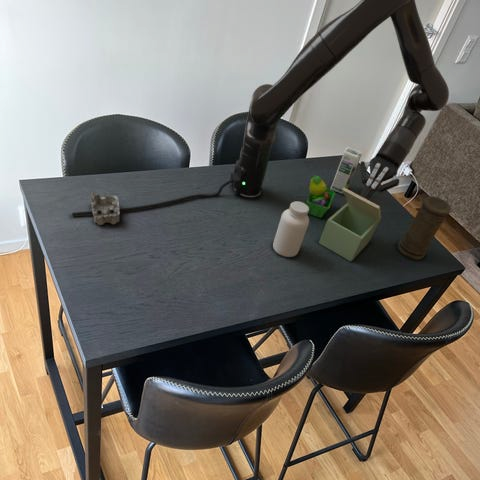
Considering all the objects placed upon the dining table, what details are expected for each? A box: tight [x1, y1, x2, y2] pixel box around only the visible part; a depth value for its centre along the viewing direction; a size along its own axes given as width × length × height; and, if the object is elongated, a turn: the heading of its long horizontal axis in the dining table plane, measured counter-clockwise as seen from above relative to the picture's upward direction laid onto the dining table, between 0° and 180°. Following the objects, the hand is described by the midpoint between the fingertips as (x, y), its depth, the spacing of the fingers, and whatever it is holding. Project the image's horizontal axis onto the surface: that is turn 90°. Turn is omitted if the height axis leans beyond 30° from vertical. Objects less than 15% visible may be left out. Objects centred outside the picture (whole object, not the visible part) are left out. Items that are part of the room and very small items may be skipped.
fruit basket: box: [306, 175, 336, 219], centre depth 151 cm, size 11×9×11 cm
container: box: [397, 195, 452, 261], centre depth 143 cm, size 9×9×18 cm
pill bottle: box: [272, 200, 310, 258], centre depth 132 cm, size 8×8×15 cm
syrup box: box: [329, 146, 363, 196], centre depth 162 cm, size 6×6×14 cm
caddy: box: [318, 202, 381, 262], centre depth 142 cm, size 14×12×9 cm
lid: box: [342, 188, 382, 220], centre depth 136 cm, size 14×12×1 cm
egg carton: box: [90, 192, 121, 226], centre depth 131 cm, size 11×8×4 cm
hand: (362, 199), depth 133 cm, fingers closed
